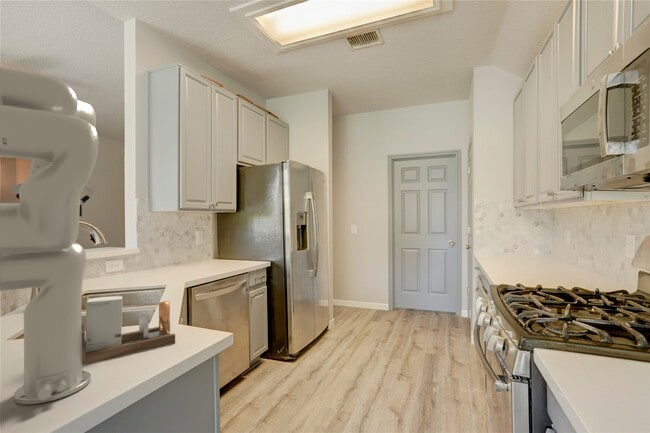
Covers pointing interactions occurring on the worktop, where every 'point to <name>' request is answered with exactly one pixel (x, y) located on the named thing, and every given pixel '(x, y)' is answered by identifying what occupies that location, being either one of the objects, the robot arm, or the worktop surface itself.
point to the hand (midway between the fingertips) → (54, 219)
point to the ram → (163, 323)
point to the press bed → (125, 346)
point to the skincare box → (103, 323)
